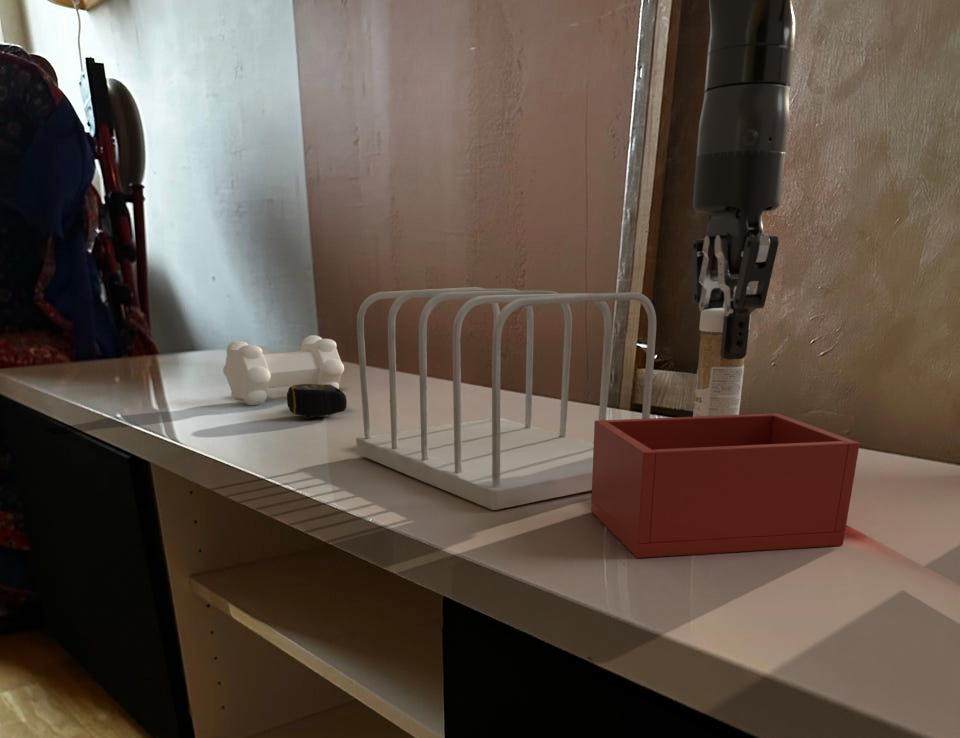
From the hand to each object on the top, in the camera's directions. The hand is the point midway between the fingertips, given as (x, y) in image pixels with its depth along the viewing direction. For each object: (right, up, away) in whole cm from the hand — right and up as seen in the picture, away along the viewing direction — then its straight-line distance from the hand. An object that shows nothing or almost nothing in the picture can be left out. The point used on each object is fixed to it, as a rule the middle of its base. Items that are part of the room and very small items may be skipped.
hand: (721, 354), depth 82 cm
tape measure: (-43, +1, +27) cm, 51 cm away
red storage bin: (-6, -19, -19) cm, 28 cm away
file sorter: (-21, -11, -1) cm, 24 cm away
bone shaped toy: (-50, +7, +40) cm, 64 cm away
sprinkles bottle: (0, -9, +4) cm, 10 cm away
